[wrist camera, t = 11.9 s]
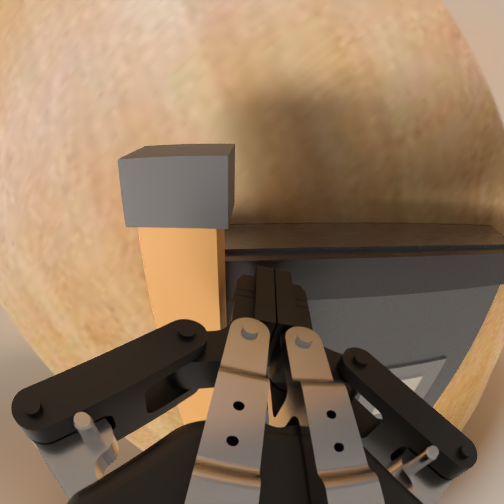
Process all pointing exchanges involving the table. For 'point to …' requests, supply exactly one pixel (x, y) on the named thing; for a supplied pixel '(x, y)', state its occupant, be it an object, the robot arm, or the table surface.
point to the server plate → (383, 288)
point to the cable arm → (182, 235)
